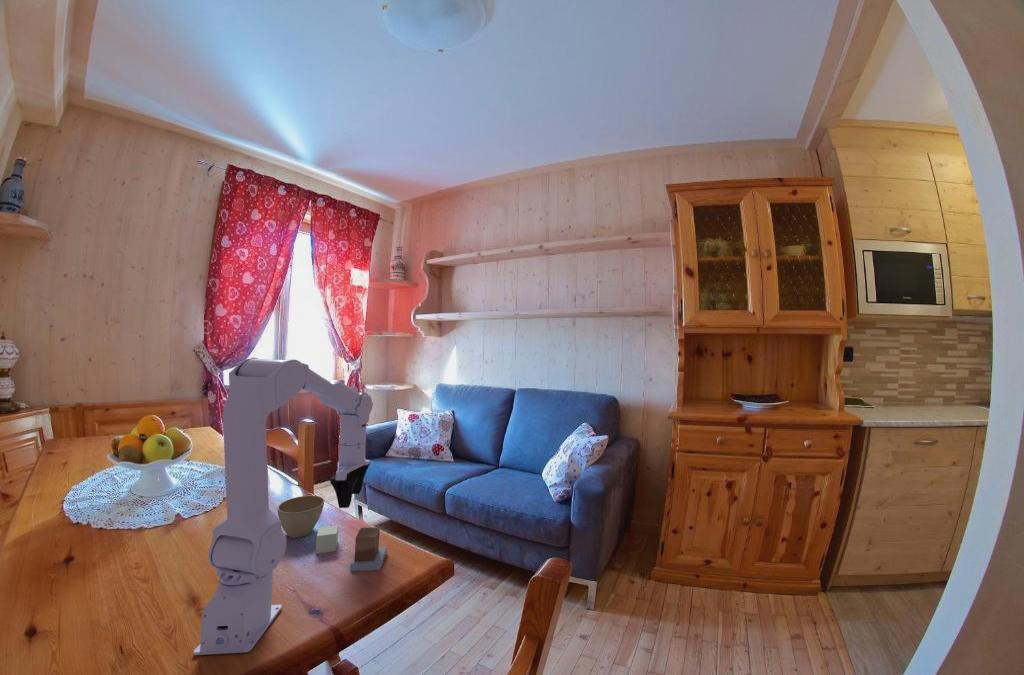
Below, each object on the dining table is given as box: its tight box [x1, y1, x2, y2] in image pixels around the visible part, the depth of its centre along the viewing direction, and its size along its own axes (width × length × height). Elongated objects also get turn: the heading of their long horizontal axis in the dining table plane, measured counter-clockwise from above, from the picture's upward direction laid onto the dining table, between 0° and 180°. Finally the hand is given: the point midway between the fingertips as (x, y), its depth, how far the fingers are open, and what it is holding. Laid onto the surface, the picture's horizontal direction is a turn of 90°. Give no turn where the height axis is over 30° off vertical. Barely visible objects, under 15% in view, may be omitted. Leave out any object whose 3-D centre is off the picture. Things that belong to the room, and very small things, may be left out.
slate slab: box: [349, 546, 388, 572], centre depth 77 cm, size 6×6×2 cm
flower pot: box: [277, 495, 325, 539], centre depth 88 cm, size 10×10×7 cm
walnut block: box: [354, 526, 381, 562], centre depth 77 cm, size 4×4×5 cm
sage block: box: [315, 524, 339, 555], centre depth 82 cm, size 4×4×4 cm
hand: (350, 500), depth 84 cm, fingers open, 7 cm apart
